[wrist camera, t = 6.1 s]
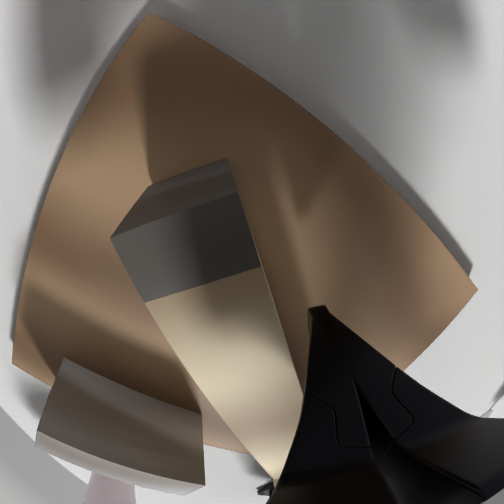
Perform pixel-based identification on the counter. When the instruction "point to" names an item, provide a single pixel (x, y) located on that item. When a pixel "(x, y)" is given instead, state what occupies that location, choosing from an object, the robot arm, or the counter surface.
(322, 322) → the robot arm
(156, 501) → the counter surface
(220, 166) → the leg
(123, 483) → the smoothie
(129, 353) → the seat
